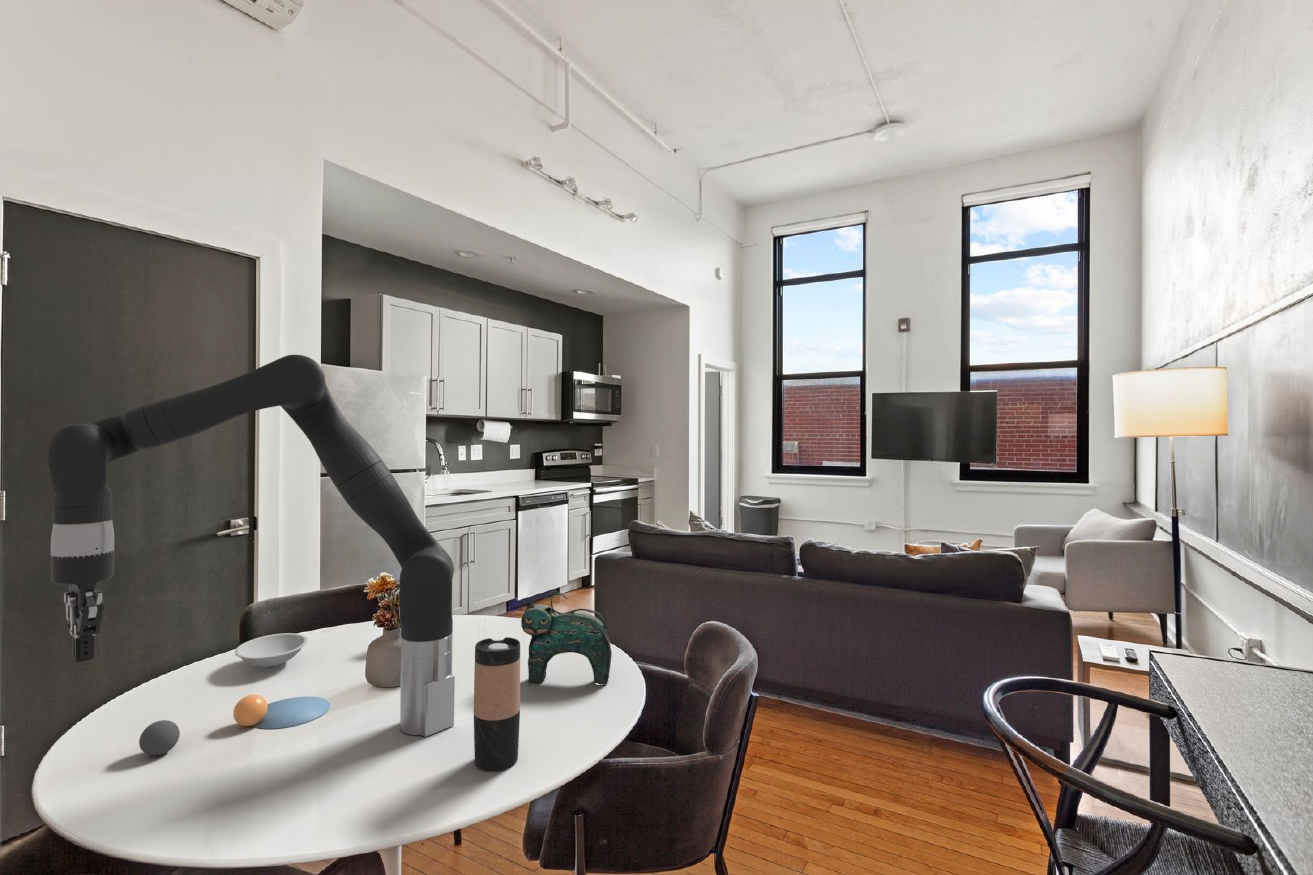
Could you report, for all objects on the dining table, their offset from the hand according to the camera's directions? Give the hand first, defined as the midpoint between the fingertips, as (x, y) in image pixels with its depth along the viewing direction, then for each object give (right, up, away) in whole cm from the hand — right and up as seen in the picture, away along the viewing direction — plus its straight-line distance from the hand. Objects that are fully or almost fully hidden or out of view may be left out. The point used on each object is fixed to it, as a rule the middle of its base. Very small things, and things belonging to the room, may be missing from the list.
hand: (83, 658), depth 102 cm
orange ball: (+15, -16, +19) cm, 29 cm away
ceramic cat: (+71, -20, +42) cm, 85 cm away
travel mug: (+64, -20, +7) cm, 67 cm away
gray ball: (+6, -16, +8) cm, 19 cm away
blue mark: (+19, -19, +25) cm, 36 cm away
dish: (+1, -19, +49) cm, 52 cm away
